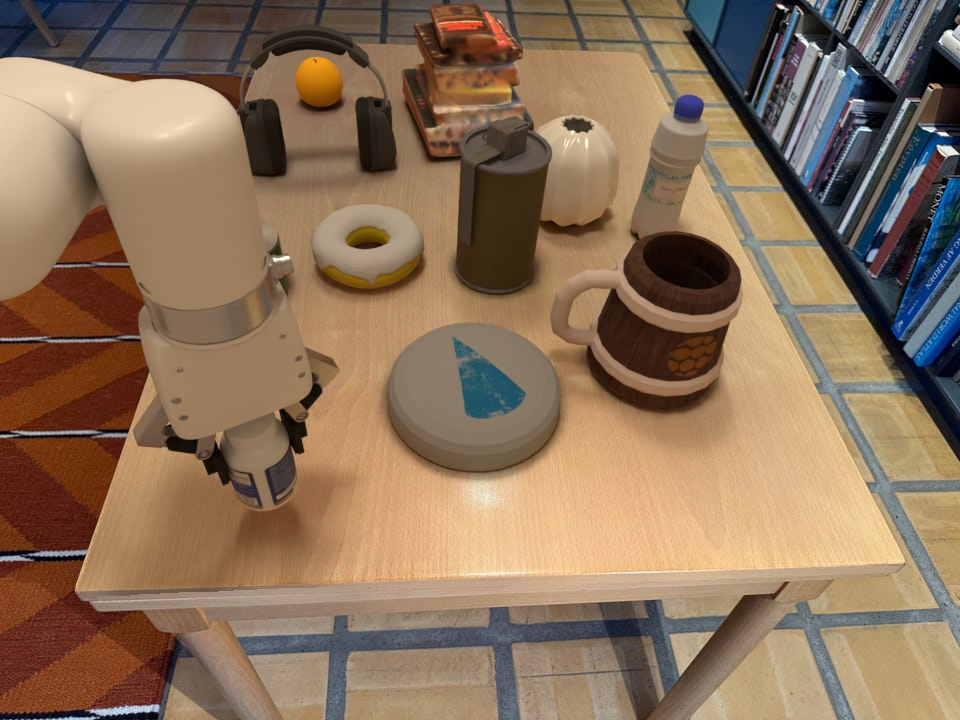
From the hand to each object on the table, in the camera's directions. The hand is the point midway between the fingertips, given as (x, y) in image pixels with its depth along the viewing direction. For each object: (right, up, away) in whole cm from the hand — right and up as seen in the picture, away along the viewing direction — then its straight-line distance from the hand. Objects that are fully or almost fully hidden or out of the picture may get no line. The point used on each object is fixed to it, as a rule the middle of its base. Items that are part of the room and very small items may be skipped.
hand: (258, 454), depth 53 cm
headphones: (-6, +38, +46) cm, 60 cm away
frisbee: (+18, +4, +16) cm, 24 cm away
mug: (+35, +8, +22) cm, 42 cm away
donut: (+4, +21, +31) cm, 37 cm away
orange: (-9, +53, +59) cm, 80 cm away
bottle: (+43, +26, +39) cm, 63 cm away
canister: (+20, +20, +31) cm, 42 cm away
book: (+16, +48, +57) cm, 76 cm away
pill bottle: (0, -3, +4) cm, 5 cm away
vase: (+31, +30, +41) cm, 60 cm away
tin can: (-9, +17, +26) cm, 32 cm away
